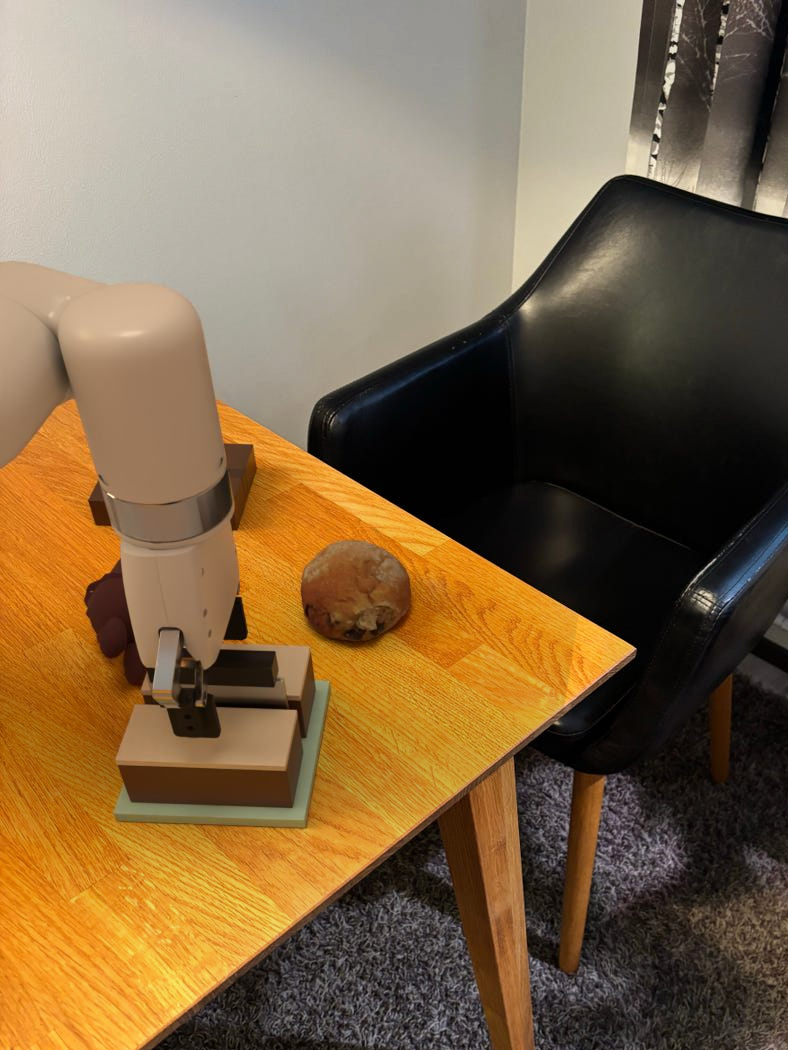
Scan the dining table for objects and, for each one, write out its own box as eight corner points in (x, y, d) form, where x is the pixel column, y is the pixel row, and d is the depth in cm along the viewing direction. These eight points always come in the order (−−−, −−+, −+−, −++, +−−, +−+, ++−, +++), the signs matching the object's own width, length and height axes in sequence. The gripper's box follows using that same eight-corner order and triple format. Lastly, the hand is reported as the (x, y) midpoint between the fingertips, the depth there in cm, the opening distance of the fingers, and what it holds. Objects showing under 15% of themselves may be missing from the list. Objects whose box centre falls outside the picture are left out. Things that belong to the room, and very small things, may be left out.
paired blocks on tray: (116, 821, 74) (96, 770, 70) (163, 682, 84) (148, 631, 80) (305, 828, 74) (297, 778, 70) (330, 688, 84) (324, 637, 80)
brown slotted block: (95, 525, 99) (87, 500, 96) (125, 463, 106) (118, 439, 104) (237, 530, 99) (232, 505, 96) (257, 468, 106) (253, 444, 104)
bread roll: (418, 619, 95) (424, 538, 93) (393, 655, 86) (400, 565, 83) (317, 605, 96) (321, 524, 94) (282, 639, 87) (285, 549, 84)
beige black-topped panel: (163, 749, 77) (137, 663, 71) (169, 731, 79) (144, 645, 72) (292, 754, 77) (278, 669, 71) (296, 736, 79) (282, 651, 72)
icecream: (75, 526, 88) (55, 656, 79) (155, 504, 88) (143, 632, 78) (114, 577, 94) (99, 705, 84) (189, 557, 93) (182, 683, 83)
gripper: (145, 414, 68) (190, 602, 80) (62, 583, 55) (129, 775, 67) (256, 418, 68) (284, 605, 80) (198, 588, 55) (241, 779, 67)
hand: (213, 683), depth 73 cm, fingers open, 9 cm apart
